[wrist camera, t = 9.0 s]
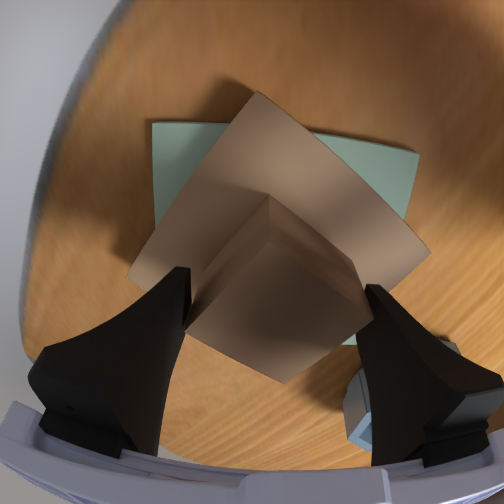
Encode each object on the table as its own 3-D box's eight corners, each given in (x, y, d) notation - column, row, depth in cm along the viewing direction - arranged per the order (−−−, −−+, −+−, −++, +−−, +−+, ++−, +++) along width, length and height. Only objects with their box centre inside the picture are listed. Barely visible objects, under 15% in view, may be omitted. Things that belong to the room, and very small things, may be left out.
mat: (414, 151, 13) (420, 154, 12) (356, 338, 19) (358, 345, 18) (156, 121, 13) (152, 123, 12) (168, 322, 19) (166, 329, 18)
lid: (423, 242, 14) (467, 303, 10) (285, 359, 19) (287, 426, 15) (257, 90, 11) (251, 93, 7) (131, 266, 16) (93, 330, 12)
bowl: (478, 336, 19) (498, 373, 15) (425, 407, 24) (435, 441, 20) (370, 338, 19) (384, 387, 15) (331, 414, 24) (335, 454, 21)
